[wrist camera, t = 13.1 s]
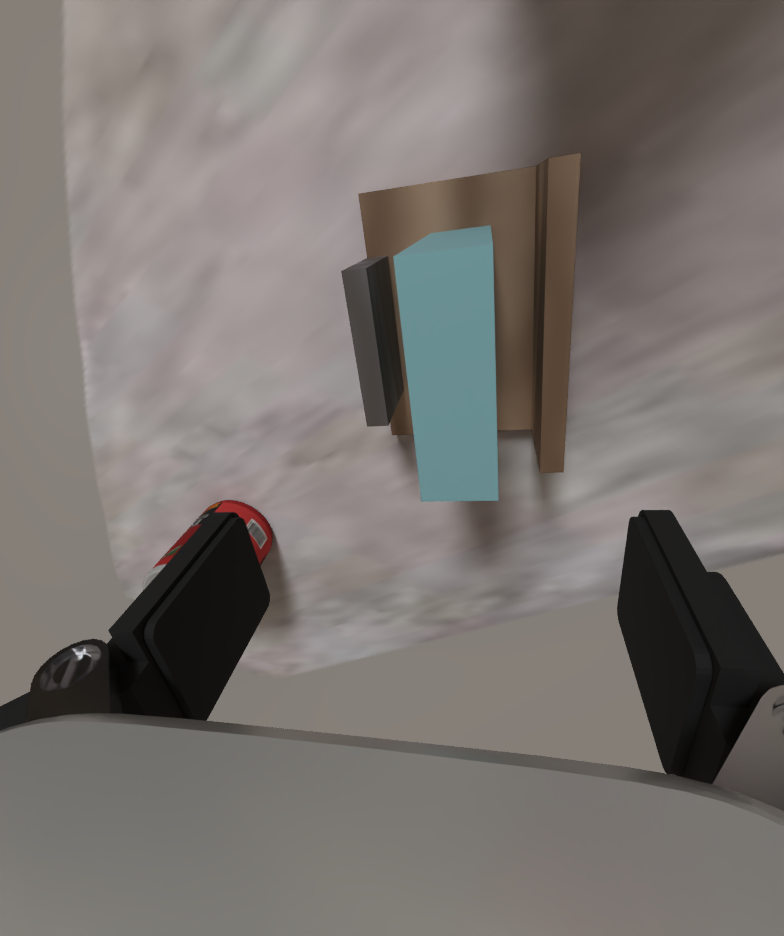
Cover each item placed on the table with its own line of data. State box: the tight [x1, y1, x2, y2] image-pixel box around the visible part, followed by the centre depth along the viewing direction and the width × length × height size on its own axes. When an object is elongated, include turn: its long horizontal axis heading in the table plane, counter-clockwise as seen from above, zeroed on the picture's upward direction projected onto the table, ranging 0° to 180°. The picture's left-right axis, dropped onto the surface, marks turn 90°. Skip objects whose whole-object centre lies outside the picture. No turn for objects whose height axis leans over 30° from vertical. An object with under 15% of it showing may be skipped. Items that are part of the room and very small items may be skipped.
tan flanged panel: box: [341, 153, 581, 473], centre depth 32 cm, size 13×18×8 cm
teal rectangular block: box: [393, 225, 499, 501], centre depth 28 cm, size 4×12×15 cm, turn 7°
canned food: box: [143, 500, 272, 590], centre depth 46 cm, size 8×8×11 cm
